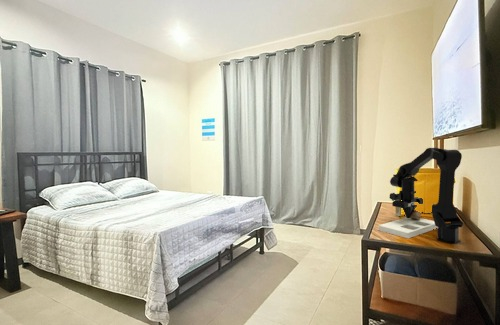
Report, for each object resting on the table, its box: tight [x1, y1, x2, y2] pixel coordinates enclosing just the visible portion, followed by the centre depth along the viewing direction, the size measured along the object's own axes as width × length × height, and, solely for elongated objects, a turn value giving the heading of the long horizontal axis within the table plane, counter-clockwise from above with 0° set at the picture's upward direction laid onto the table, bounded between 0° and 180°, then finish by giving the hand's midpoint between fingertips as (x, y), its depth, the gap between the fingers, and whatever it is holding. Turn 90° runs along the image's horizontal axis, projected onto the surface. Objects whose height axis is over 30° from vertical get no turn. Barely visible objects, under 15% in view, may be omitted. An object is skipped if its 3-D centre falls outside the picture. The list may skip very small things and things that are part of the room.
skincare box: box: [394, 200, 401, 217], centre depth 151 cm, size 6×4×12 cm
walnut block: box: [410, 210, 422, 220], centre depth 134 cm, size 4×4×4 cm
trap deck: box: [377, 217, 438, 239], centre depth 128 cm, size 14×28×2 cm, turn 119°
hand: (408, 218), depth 134 cm, fingers closed
